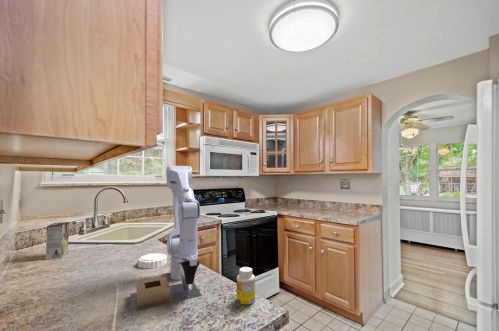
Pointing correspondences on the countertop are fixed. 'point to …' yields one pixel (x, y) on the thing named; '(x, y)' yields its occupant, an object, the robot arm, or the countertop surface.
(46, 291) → the countertop surface
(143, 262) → the mooncake
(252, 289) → the supplement bottle
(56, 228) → the coffee box
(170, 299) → the clevis base
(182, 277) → the steel pin
